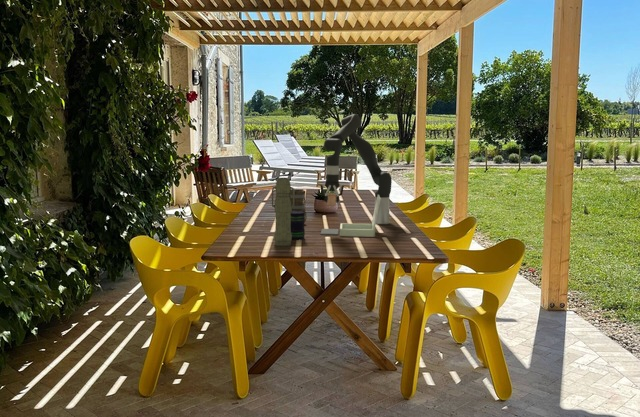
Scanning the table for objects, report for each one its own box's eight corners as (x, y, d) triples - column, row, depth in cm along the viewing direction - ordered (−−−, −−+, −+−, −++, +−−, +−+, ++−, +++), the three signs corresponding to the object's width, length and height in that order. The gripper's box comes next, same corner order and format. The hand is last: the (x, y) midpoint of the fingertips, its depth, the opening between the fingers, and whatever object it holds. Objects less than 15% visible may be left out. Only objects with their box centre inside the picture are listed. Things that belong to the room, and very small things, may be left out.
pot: (336, 204, 339) (337, 192, 338) (336, 206, 333) (337, 194, 332) (326, 204, 339) (327, 192, 338) (326, 205, 333) (326, 193, 332)
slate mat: (338, 230, 346) (338, 229, 346) (338, 235, 330) (338, 233, 330) (322, 229, 347) (322, 228, 347) (320, 234, 331) (320, 233, 331)
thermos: (295, 246, 299) (295, 178, 294) (272, 246, 297) (272, 178, 292) (293, 242, 307) (294, 177, 302) (271, 243, 306) (271, 177, 301)
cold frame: (378, 230, 347) (379, 194, 344) (379, 236, 327) (380, 198, 324) (340, 229, 348) (341, 193, 345) (339, 235, 328) (340, 197, 325)
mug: (304, 212, 416) (305, 191, 414) (286, 212, 417) (286, 191, 414) (306, 208, 436) (306, 188, 434) (288, 208, 436) (288, 188, 434)
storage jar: (300, 241, 312) (300, 213, 310) (284, 239, 316) (284, 212, 314) (307, 237, 322) (307, 211, 320) (291, 236, 325) (291, 210, 323)
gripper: (345, 173, 337) (344, 202, 339) (320, 172, 337) (319, 201, 340) (344, 174, 329) (344, 203, 332) (319, 173, 330) (319, 203, 332)
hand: (331, 202), depth 336 cm, fingers closed on pot, 5 cm apart
